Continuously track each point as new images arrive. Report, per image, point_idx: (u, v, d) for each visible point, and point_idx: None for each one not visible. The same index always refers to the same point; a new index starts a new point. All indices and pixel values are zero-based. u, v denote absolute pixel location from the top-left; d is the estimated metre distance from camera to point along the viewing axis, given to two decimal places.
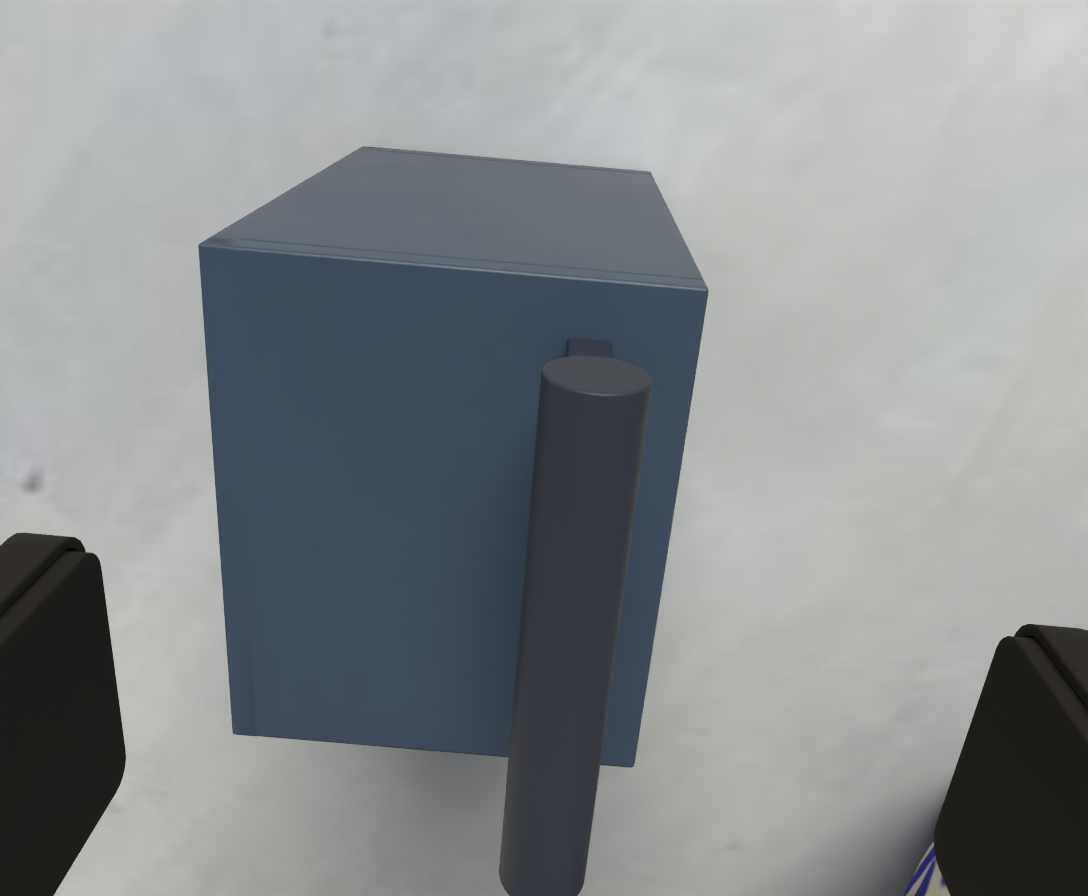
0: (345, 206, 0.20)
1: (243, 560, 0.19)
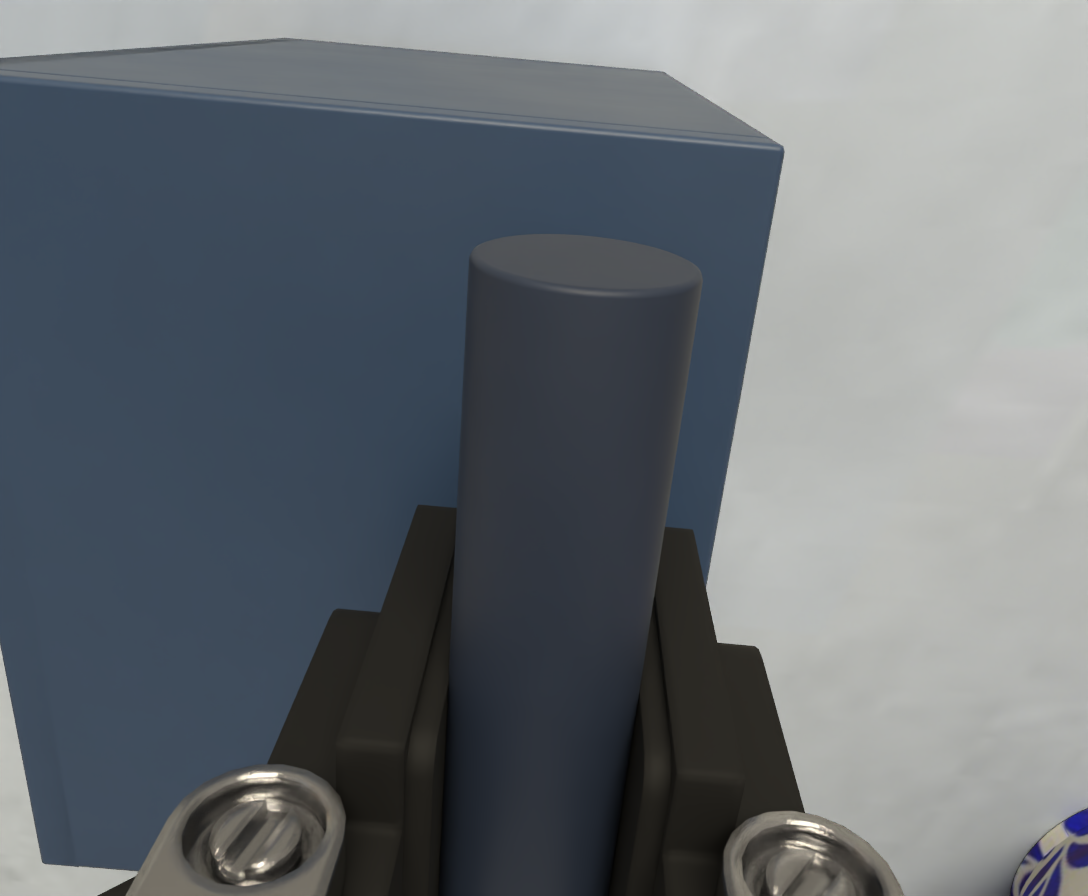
0: (206, 60, 0.13)
1: (28, 608, 0.12)
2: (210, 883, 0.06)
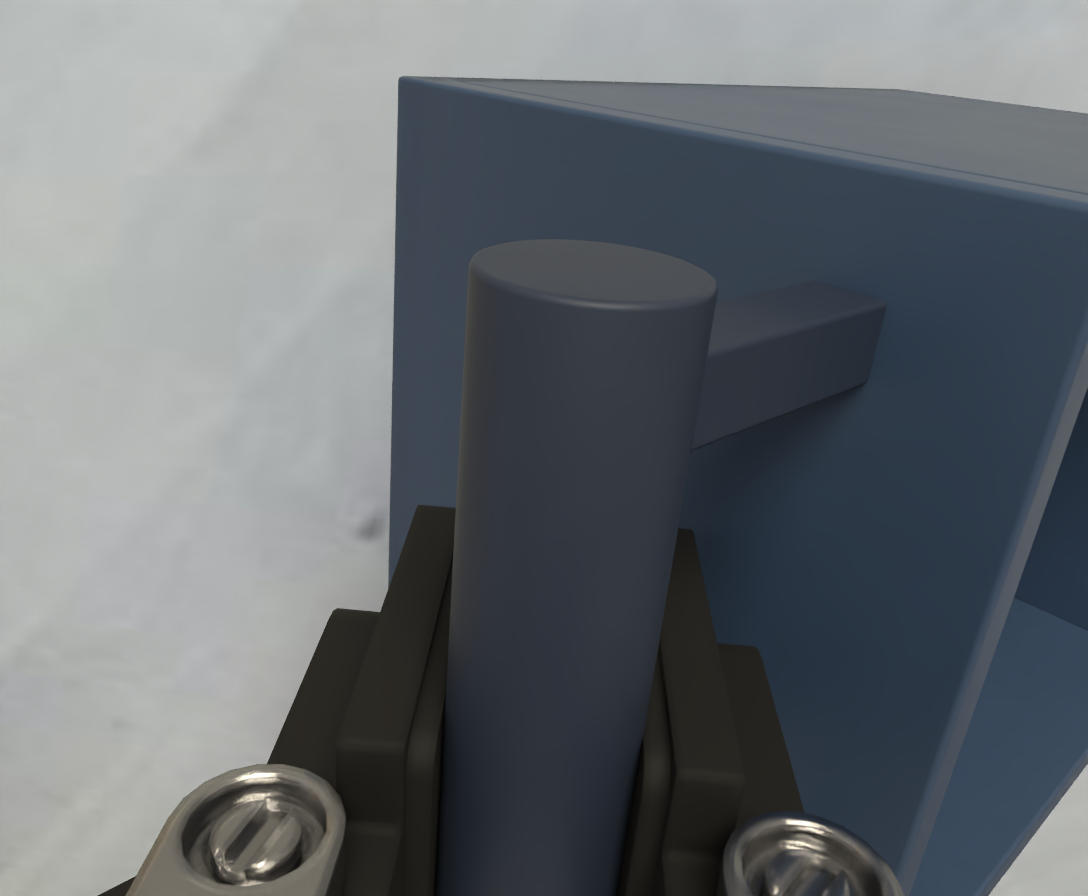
0: (695, 93, 0.14)
1: (406, 513, 0.15)
2: (210, 883, 0.06)
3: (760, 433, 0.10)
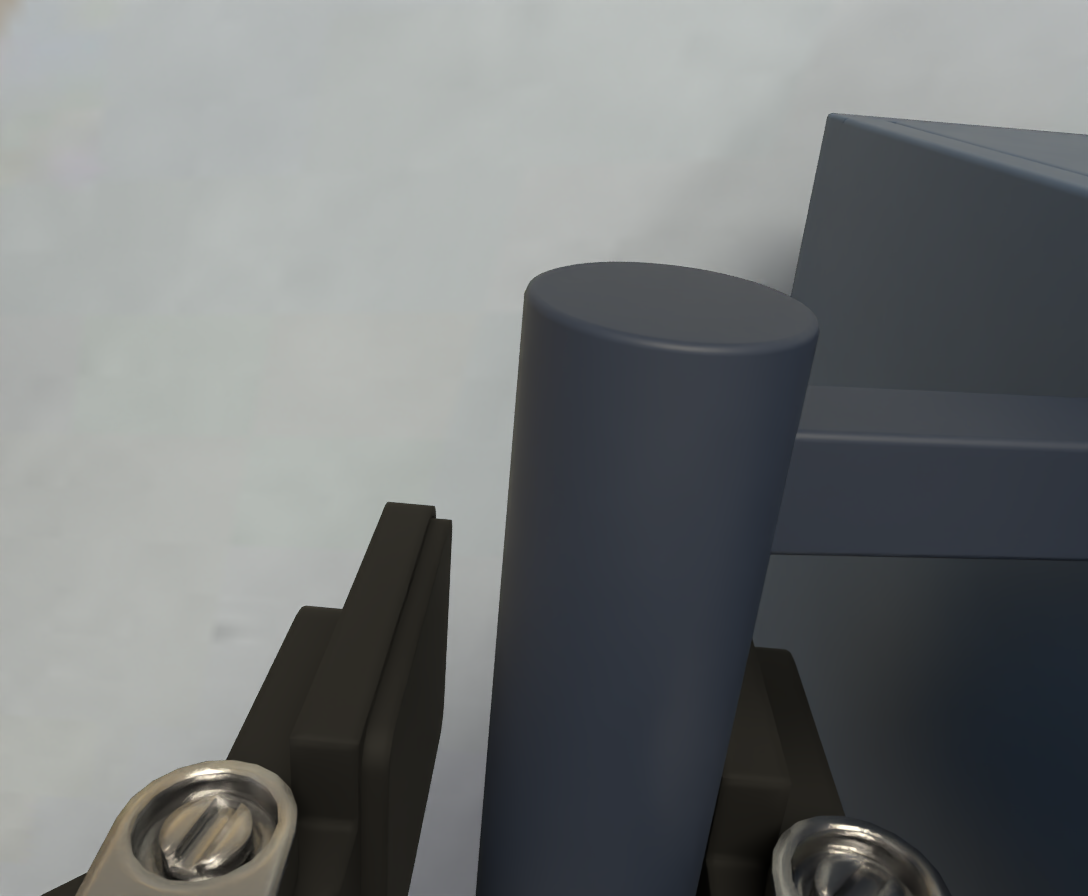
0: None
1: None
2: (161, 881, 0.06)
3: (1062, 592, 0.07)
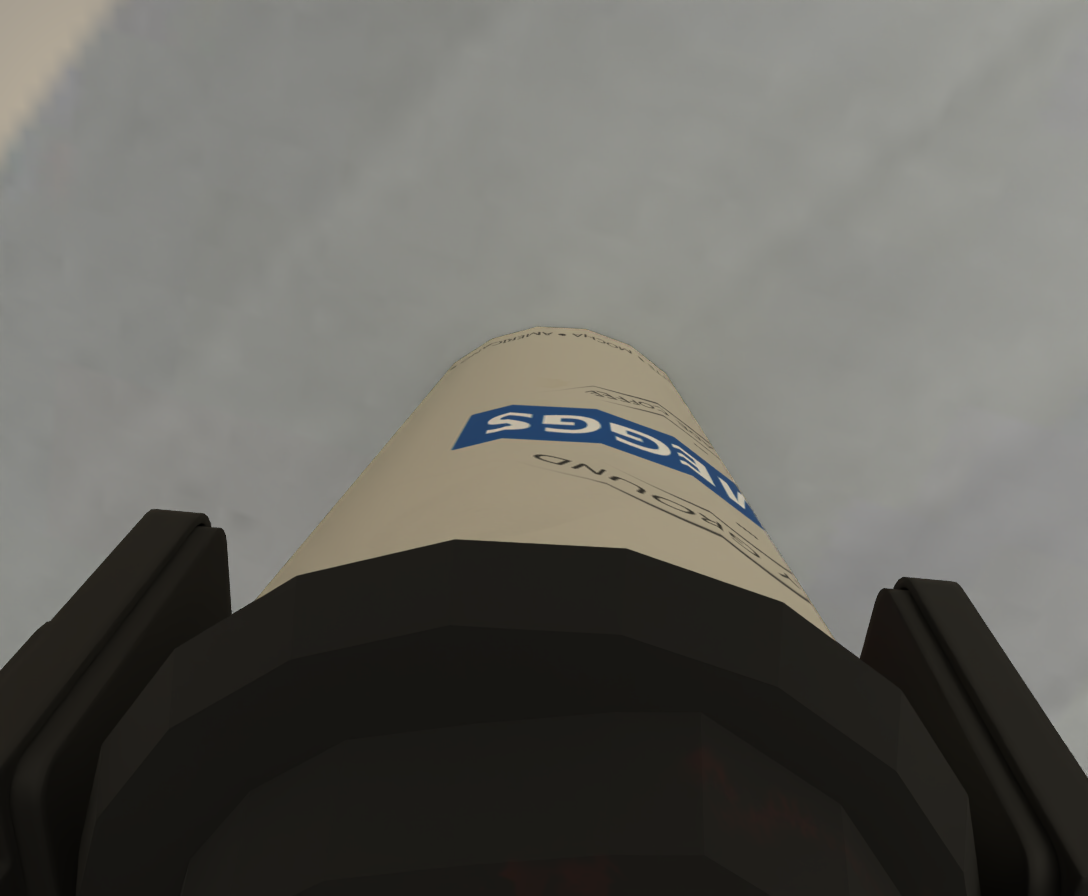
0: None
1: None
2: None
3: None
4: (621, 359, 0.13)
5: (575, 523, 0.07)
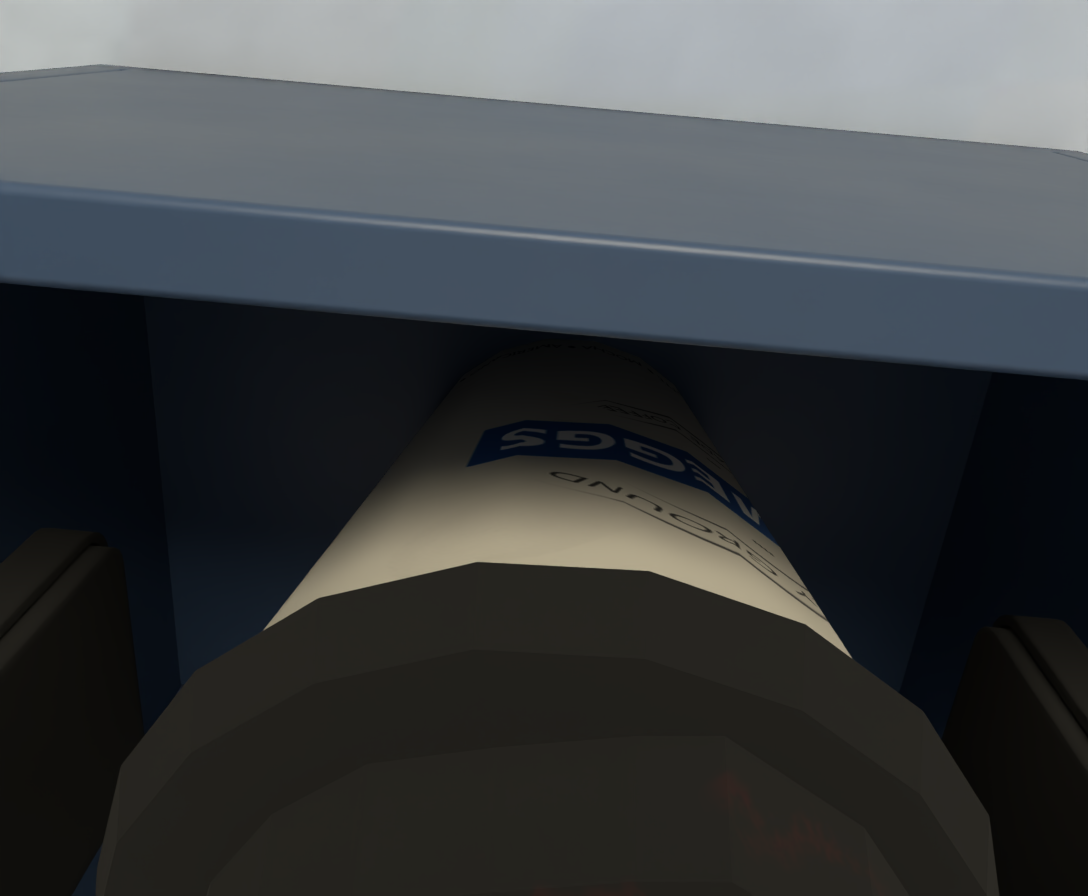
0: (380, 98, 0.12)
1: None
2: None
3: None
4: (631, 372, 0.13)
5: (594, 542, 0.07)
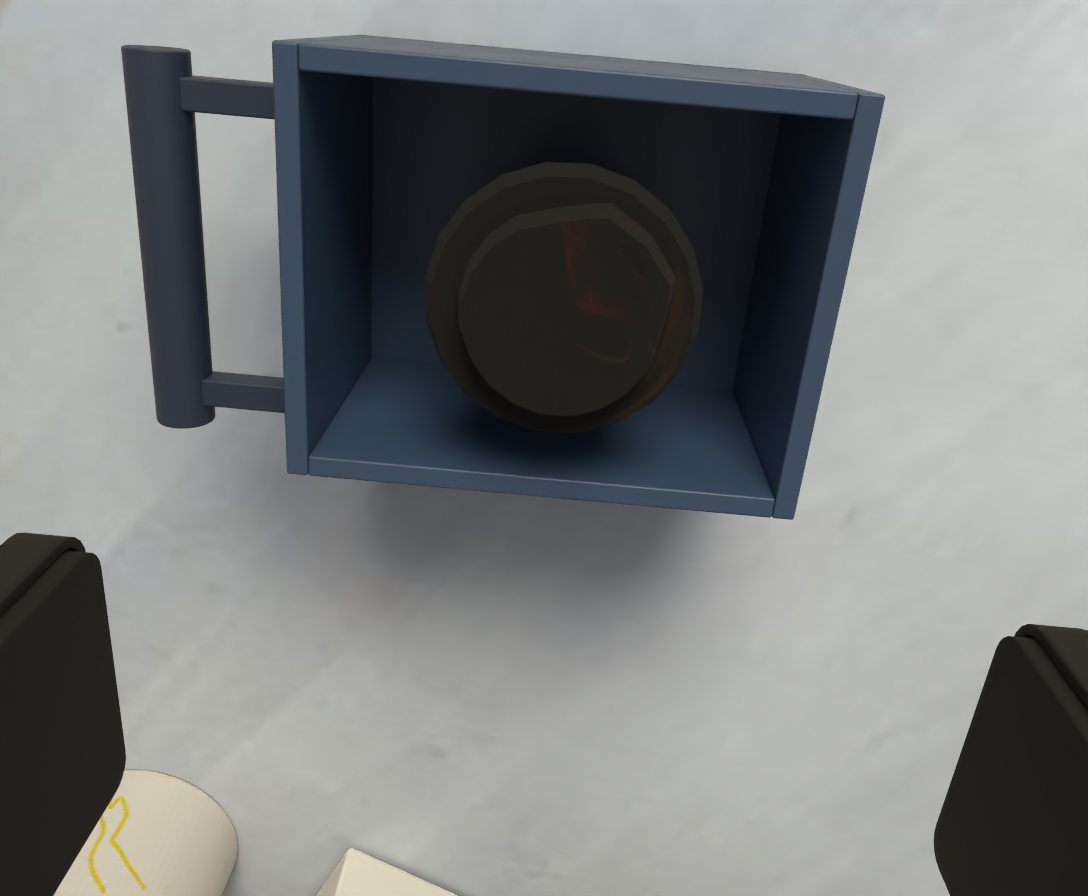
0: (491, 48, 0.28)
1: None
2: None
3: None
4: None
5: None
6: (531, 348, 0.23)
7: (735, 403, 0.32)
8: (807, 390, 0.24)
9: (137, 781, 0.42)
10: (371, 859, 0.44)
